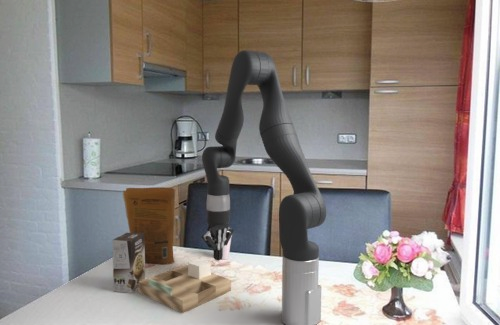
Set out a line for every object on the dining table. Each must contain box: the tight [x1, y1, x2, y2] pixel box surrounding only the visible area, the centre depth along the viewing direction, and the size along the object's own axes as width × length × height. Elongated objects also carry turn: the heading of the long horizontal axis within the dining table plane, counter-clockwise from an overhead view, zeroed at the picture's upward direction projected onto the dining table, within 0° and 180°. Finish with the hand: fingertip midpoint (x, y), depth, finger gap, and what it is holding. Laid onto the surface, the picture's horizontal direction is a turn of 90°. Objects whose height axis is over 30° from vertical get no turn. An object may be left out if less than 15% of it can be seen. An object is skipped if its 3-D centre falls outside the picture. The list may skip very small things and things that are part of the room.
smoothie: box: [220, 235, 233, 261], centre depth 152 cm, size 6×6×14 cm
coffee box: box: [112, 232, 146, 294], centre depth 125 cm, size 9×6×16 cm
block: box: [187, 258, 212, 279], centre depth 126 cm, size 5×5×4 cm
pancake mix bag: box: [122, 187, 177, 265], centre depth 146 cm, size 7×19×28 cm, turn 79°
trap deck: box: [138, 264, 232, 314], centre depth 122 cm, size 20×19×6 cm
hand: (218, 259), depth 133 cm, fingers closed
